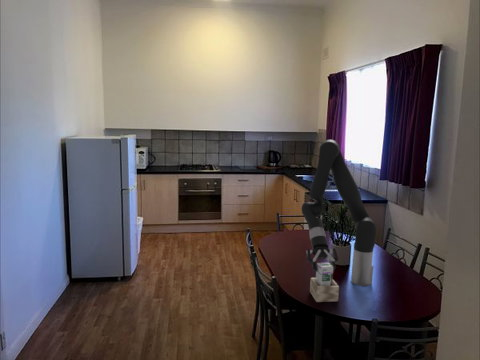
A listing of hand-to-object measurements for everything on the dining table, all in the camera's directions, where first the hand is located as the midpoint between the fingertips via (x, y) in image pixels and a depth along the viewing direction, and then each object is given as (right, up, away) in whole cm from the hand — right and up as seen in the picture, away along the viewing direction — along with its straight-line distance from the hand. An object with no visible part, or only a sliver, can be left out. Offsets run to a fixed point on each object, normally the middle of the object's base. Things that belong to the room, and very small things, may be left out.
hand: (324, 270), depth 177 cm
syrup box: (-1, -11, +1) cm, 11 cm away
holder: (0, -12, +1) cm, 12 cm away
